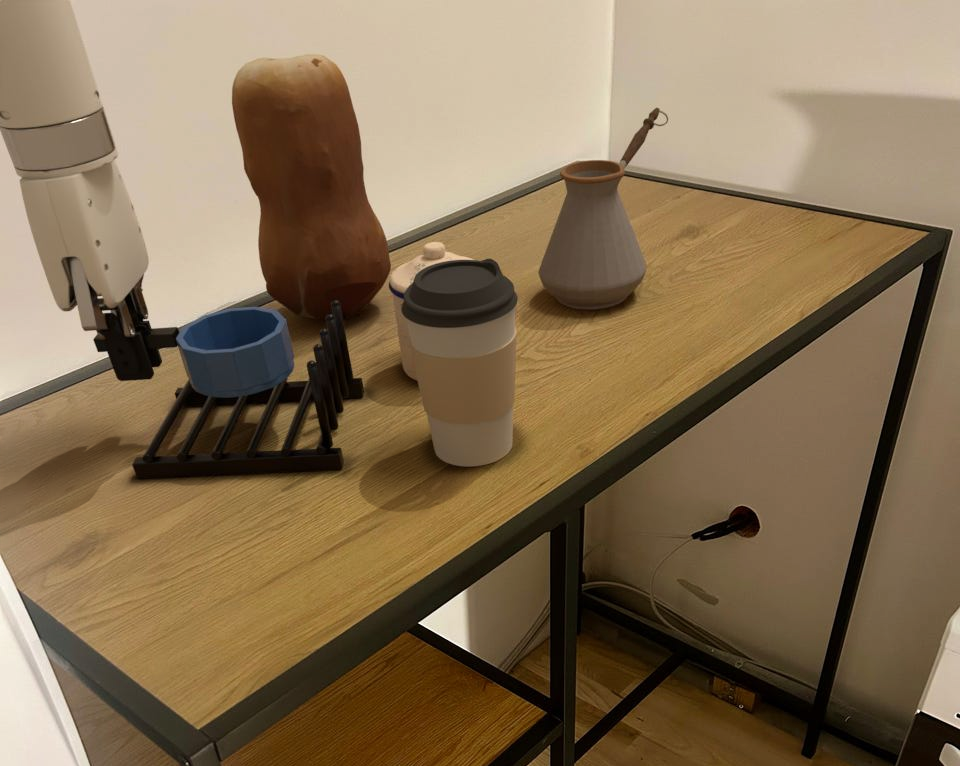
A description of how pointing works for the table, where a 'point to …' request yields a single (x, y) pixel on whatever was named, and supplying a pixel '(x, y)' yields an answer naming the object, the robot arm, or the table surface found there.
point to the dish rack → (266, 419)
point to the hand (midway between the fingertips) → (140, 371)
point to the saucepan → (228, 350)
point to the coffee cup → (465, 357)
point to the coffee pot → (595, 235)
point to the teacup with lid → (403, 280)
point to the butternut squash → (309, 185)
